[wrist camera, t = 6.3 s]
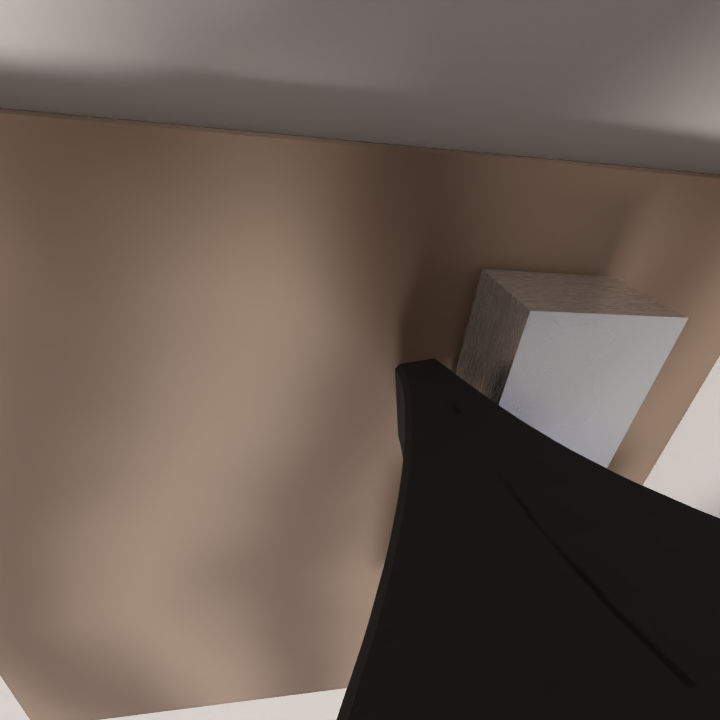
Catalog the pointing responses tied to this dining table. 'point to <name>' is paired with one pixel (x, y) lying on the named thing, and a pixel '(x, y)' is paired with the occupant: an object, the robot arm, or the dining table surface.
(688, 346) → the base plate
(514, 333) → the link
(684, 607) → the robot arm
